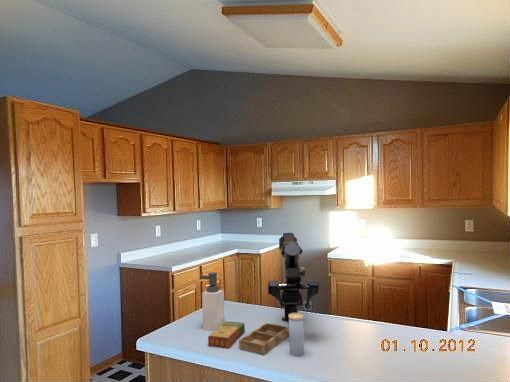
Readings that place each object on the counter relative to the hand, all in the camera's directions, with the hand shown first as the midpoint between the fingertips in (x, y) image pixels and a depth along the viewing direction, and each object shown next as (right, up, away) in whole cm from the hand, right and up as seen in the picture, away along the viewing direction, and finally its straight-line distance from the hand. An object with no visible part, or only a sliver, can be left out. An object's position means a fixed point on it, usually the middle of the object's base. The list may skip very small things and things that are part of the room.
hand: (294, 308), depth 132 cm
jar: (0, -13, -7) cm, 15 cm away
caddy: (-10, -13, +3) cm, 17 cm away
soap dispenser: (-32, -14, +19) cm, 40 cm away
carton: (-24, -14, +7) cm, 29 cm away
